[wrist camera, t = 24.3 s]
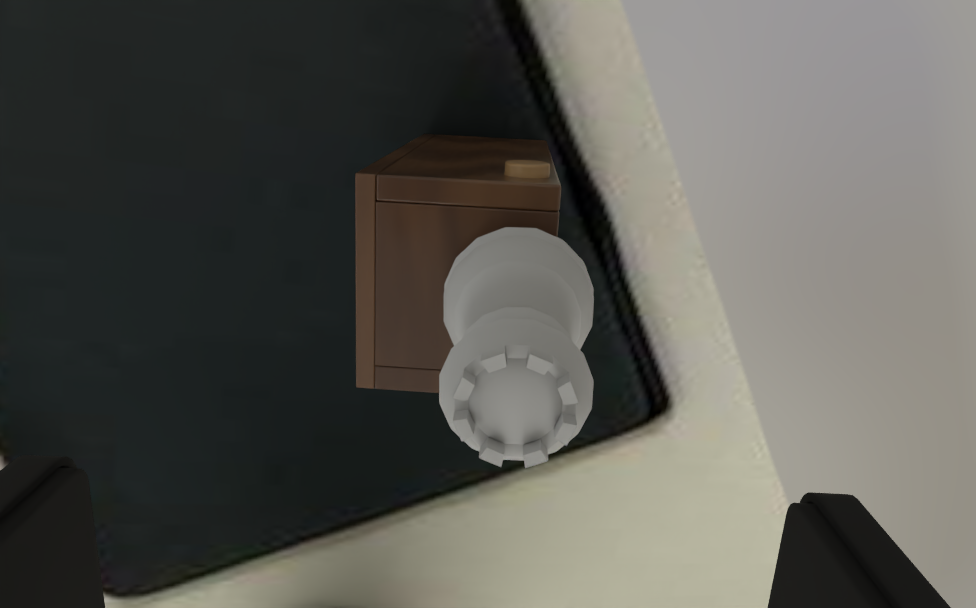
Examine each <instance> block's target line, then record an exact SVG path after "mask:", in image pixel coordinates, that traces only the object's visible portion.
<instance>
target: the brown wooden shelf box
mask: <svg viewBox="0 0 976 608" xmlns="http://www.w3.org/2000/svg"><path fill="white" fill-rule="evenodd" d="M560 198H561V185H560V182H559V179H558V176H557V173H556V170H555V166H554V163H553V160H552V157H551V154H550V151H549V148H548V145H547V142H546V141H544V140H526V139H508V138H490V137H472V136H454V135H435V134H423V135H421V136H419V137H418V138H416V139H414V140H412V141H411V142H409V143H407V144H406V145H404V146H402V147H400V148H399V149H397V150H395V151H393V152H392V153H390V154H388V155H387V156H385V157H383V158H381V159H380V160H378V161H376V162H374V163H373V164H371V165H369V166H368V167H366V168H364V169H362V170H361V171H359V172H357V173H356V174H355V230H356V387H358V388H372V389H373V388H376V389H388V390H403V391H418V392H432V393H439V374H440V372H441V370H442V368H443V366H444V363H445V361H446V359H447V357H448V355H449V352H450V350H451V349H452V348H453V347H454V345H453V342H452V340H451V337H450V335H449V333H448V330H447V328H446V326H445V323H444V284H445V282H446V279H447V277H448V275H449V272H450V270H451V268H452V266H453V263H454V261H455V259H456V257H457V256H458V255H459V254H460V253H462V252H463V251H464V250H465V249H466V248H467V247H468V246H469V245H470V244H471V243H472V242H473V241H474V240H475V239H476V238H478V237H481V236H483V235H486V234H489V233H491V232H494V231H497V230H499V229H502V228H505V227H518V228H537V229H539V230H542V231H544V232H546V233H548V234H551V235H553V236H555V237H557V236H558V224H559V209H560Z"/></svg>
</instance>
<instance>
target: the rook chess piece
mask: <svg viewBox="0 0 976 608" xmlns="http://www.w3.org/2000/svg"><path fill="white" fill-rule="evenodd" d="M593 291H594V288H593V286H592V283H591V280H590V277H589V275H588V272H587V269H586V266H585V264H584V261H583V260H582V259H581V258H580V257H579V256H578V255H577V254H576V253H575V252H574V251H573V250H572V249H571V248H570V247H569V246H568V244H567V243H566V242H565V241H564V240H562V239H560V238H557V237H555V236H553V235H551V234H548V233H546V232H544V231H542V230H539V229H537V228H518V227H505V228H502V229H499V230H497V231H494V232H491V233H489V234H486V235H483V236H481V237H478V238H476V239H475V240H474V241H473V242H472V243H471V244H470V245H469V246H468V247H467V248H466V249H465V250H464V251H463V252H462V253H460V254H459V255H458V256H457V257H456V259H455V261H454V263H453V266H452V268H451V270H450V272H449V275H448V277H447V279H446V282H445V284H444V323H445V326H446V328H447V330H448V333H449V335H450V337H451V340H452V342H453V345H454V347H453V348H452V349H451V350H450V352H449V355H448V357H447V359H446V361H445V363H444V366H443V368H442V370H441V372H440V374H439V403H440V405H441V408H442V410H443V412H444V414H445V417H446V419H447V421H448V423H449V426H450V428H451V429H452V430H453V431H454V432H455V433H456V434H457V435H458V436H459V437H460V439H461V441H464V442H465V443H467V444H468V445H469V446H470V447H471V448H472V449H475V450H477V451H479V458H480V459H483V460H485V461H487V462H490V463H492V464H495V465H497V466H500V467H501V466H502V462H503V460H524V463H525V468H527V467H531V466H534V465H537V464H540V463H543V462H546V461H548V454H550V453H554V452H556V451H558V450H559V449H560V448H561V447H562V446H564V445H566V446H567V444H568V442H569V441H570V440H571V439H572V438H574V437H575V436H576V435H577V434H578V433H579V432H580V430H581V428H582V426H583V424H584V422H585V420H586V418H587V417H588V415H589V413H590V411H591V409H592V397H593V382H594V380H593V378H592V375H591V372H590V370H589V367H588V364H587V362H586V359H585V356H584V354H583V353H582V352H581V351H580V349H581V347H582V345H583V343H584V341H585V339H586V337H587V335H588V333H589V331H590V329H591V327H592V320H593V305H594V297H593Z"/></svg>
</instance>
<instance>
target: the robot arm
mask: <svg viewBox="0 0 976 608" xmlns="http://www.w3.org/2000/svg"><path fill="white" fill-rule="evenodd" d="M0 608H105V604H104V596H103V588H102V581H101V573H100V565H99V557H98V550H97V542H96V534H95V526H94V519H93V511H92V503H91V496H90V488H89V480H88V476H87V474H86V472H85V471H84V470H82V469H77V468H76V465H75V463H74V462H73V460H72V459H70V458H68V457H55V456H34V455H23V456H20V457H18V458H16V459H14V460H13V461H12V462H11V463H9V464H8V465H7V466H6V467H4V468H3V469H2V470H1V471H0ZM768 608H950V606H949V605H948V604H947V603H946V602H945V601H944V600H943V598H942V597H941V596H940V595H939V594H938V593H937V591H936V590H935V589H934V588H933V587H932V585H931V584H930V583H929V582H928V581H927V580H926V578H925V577H924V576H923V575H922V574H921V573H920V571H919V570H918V569H917V568H916V567H915V566H914V564H913V563H912V562H911V561H910V560H909V559H908V557H907V556H906V555H905V554H904V553H903V552H902V550H901V549H900V548H899V547H898V546H897V545H896V544H895V542H894V541H893V540H892V539H891V538H890V536H889V535H888V534H887V533H886V532H885V531H884V529H883V528H882V527H881V526H880V525H879V524H878V522H877V521H876V520H875V519H874V518H873V517H872V515H870V513H869V512H868V511H867V510H866V508H865V507H864V506H863V505H862V504H861V503H860V501H859V500H858V499H857V498H855V497H854V496H853V495H848V494H828V493H807V494H805V495H804V496H803V497H802V499H801V501H800V503H792V504H791V505H790V506H789V508H788V511H787V514H786V519H785V524H784V529H783V534H782V539H781V544H780V549H779V554H778V559H777V564H776V569H775V574H774V579H773V584H772V589H771V594H770V599H769V604H768Z"/></svg>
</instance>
